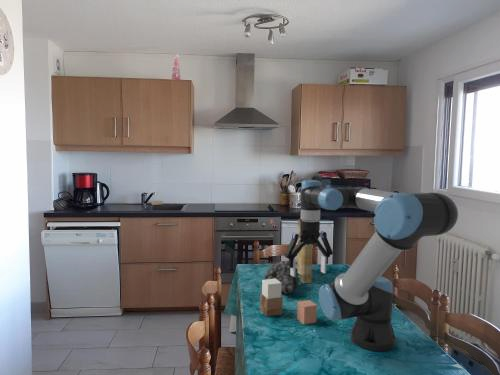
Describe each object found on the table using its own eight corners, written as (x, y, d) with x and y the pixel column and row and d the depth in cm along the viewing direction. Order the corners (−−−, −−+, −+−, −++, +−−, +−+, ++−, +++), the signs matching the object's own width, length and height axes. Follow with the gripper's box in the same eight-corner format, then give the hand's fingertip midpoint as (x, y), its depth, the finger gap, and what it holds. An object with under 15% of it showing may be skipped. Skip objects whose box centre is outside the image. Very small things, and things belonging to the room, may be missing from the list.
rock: (268, 309, 175) (297, 302, 170) (254, 280, 174) (284, 272, 168) (278, 286, 195) (305, 279, 190) (266, 260, 194) (293, 252, 188)
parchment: (295, 269, 215) (297, 217, 212) (306, 270, 215) (308, 218, 212) (299, 283, 192) (301, 225, 189) (311, 284, 191) (313, 225, 189)
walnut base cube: (282, 314, 154) (282, 297, 153) (266, 316, 151) (267, 299, 151) (275, 307, 161) (275, 291, 160) (259, 309, 158) (260, 293, 157)
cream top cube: (281, 297, 154) (281, 283, 153) (267, 299, 152) (268, 284, 151) (275, 292, 159) (275, 278, 159) (261, 293, 157) (262, 279, 157)
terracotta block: (316, 322, 147) (316, 305, 146) (303, 324, 145) (304, 306, 144) (309, 316, 152) (309, 300, 151) (297, 318, 150) (297, 301, 149)
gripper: (332, 217, 153) (330, 268, 155) (276, 219, 144) (275, 274, 146) (343, 220, 146) (340, 273, 148) (285, 223, 137) (283, 280, 139)
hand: (308, 274), depth 147 cm, fingers open, 13 cm apart
